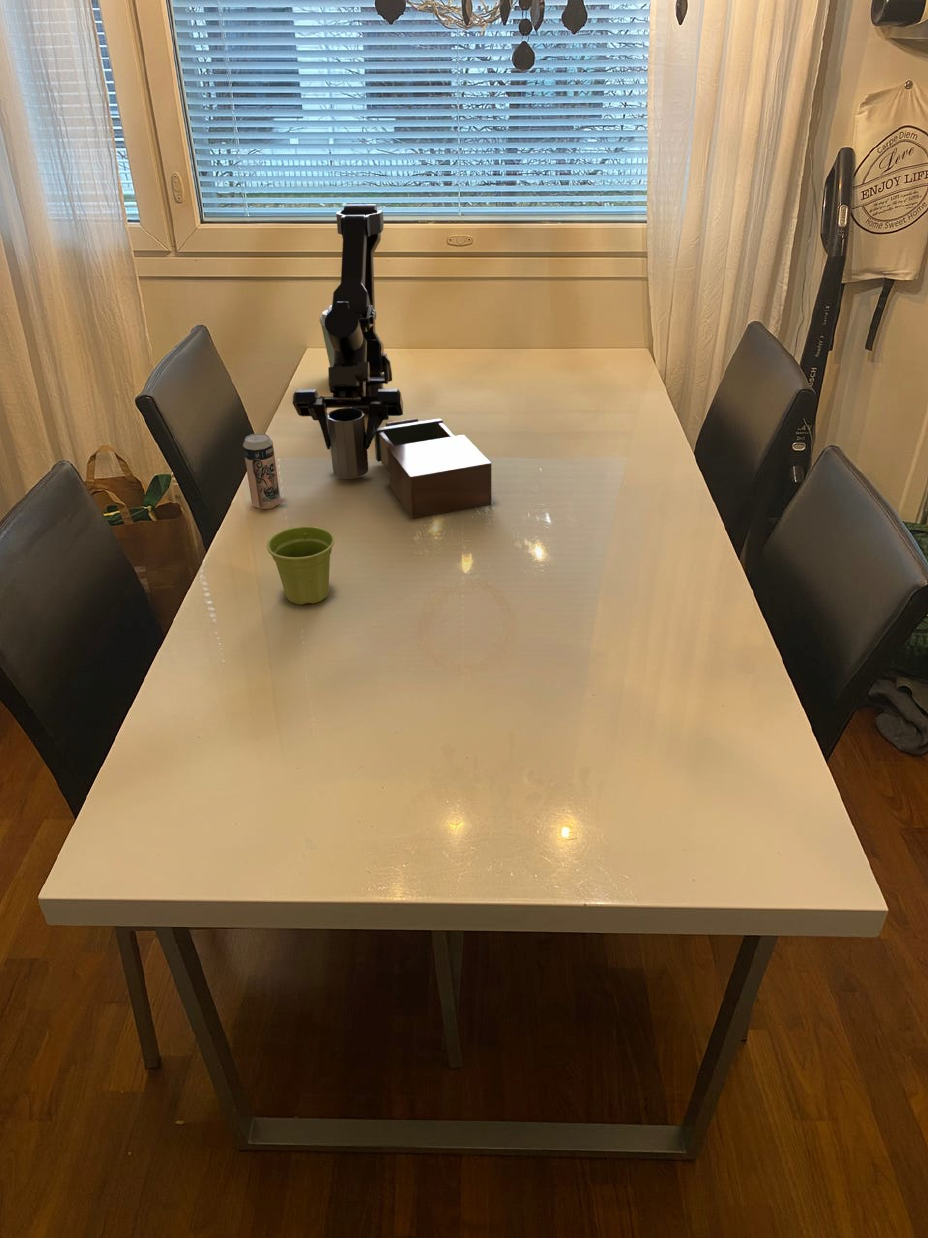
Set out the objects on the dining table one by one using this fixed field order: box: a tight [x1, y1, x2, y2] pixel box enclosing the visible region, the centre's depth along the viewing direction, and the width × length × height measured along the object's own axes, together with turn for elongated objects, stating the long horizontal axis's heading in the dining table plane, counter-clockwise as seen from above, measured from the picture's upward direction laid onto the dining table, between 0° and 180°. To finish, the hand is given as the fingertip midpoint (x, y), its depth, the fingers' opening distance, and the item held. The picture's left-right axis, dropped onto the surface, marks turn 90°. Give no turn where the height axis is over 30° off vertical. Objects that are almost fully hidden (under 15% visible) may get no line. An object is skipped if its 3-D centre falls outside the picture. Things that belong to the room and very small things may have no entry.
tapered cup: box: [327, 408, 370, 480], centre depth 168 cm, size 6×6×11 cm
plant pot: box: [266, 525, 335, 606], centre depth 136 cm, size 9×9×9 cm
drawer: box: [373, 417, 455, 474], centre depth 173 cm, size 16×13×6 cm
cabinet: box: [387, 434, 492, 519], centre depth 162 cm, size 13×14×8 cm
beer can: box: [242, 432, 281, 510], centre depth 159 cm, size 5×5×12 cm
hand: (347, 448), depth 167 cm, fingers closed on tapered cup, 6 cm apart
